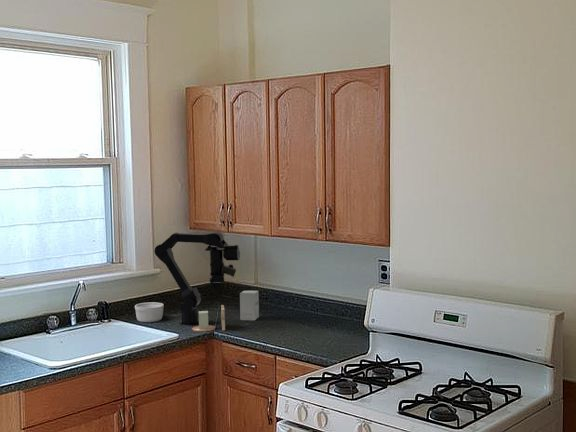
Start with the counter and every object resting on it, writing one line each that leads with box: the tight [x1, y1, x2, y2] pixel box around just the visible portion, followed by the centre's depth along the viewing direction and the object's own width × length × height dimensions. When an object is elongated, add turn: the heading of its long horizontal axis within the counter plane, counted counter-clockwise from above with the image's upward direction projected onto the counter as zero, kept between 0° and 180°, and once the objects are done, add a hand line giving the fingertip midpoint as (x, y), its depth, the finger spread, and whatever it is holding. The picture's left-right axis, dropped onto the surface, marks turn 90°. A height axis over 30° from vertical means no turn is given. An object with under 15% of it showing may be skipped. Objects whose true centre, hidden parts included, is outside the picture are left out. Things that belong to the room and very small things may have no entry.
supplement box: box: [239, 290, 260, 321], centre depth 345 cm, size 7×7×13 cm
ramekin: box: [134, 301, 165, 323], centre depth 348 cm, size 13×13×7 cm
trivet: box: [191, 324, 216, 332], centre depth 327 cm, size 10×10×1 cm
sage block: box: [198, 310, 209, 329], centre depth 327 cm, size 4×4×7 cm
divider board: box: [220, 304, 226, 331], centre depth 328 cm, size 10×1×9 cm, turn 6°
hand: (217, 295), depth 336 cm, fingers open, 9 cm apart
